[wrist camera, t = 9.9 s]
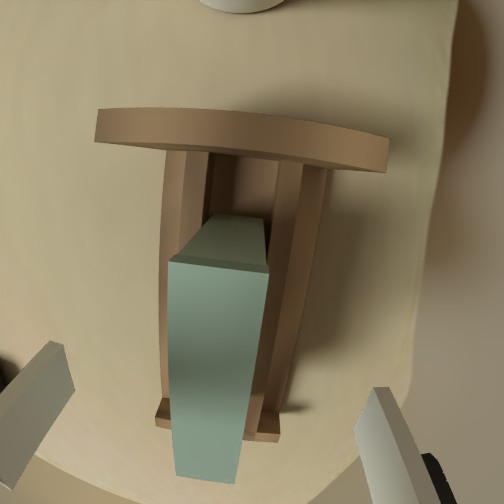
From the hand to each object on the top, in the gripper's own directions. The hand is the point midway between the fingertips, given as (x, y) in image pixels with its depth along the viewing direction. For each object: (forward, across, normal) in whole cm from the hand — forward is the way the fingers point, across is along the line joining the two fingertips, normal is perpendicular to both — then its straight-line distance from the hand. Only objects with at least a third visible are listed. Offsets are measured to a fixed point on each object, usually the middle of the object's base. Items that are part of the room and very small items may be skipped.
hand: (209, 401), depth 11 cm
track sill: (+11, 0, -1) cm, 11 cm away
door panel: (+10, 0, 0) cm, 10 cm away
